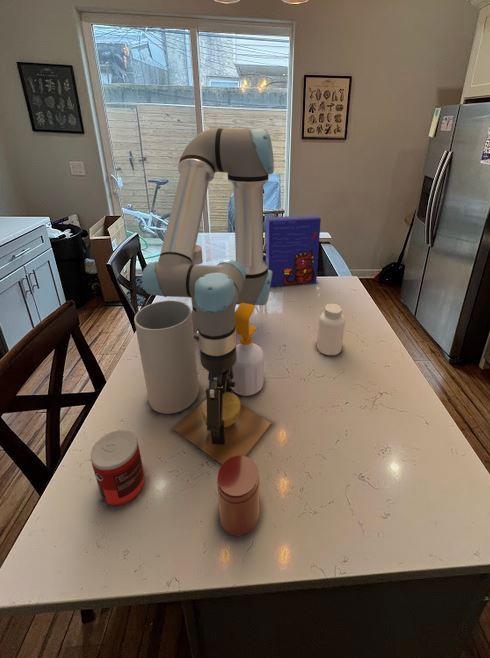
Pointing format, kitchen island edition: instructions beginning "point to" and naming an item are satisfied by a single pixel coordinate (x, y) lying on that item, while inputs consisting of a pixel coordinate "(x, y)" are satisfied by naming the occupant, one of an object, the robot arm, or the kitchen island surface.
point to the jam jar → (238, 495)
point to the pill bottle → (331, 330)
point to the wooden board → (236, 435)
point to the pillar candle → (197, 255)
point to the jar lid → (226, 409)
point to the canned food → (118, 467)
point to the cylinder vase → (168, 355)
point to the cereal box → (292, 249)
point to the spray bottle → (247, 355)
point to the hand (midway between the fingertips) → (222, 425)
